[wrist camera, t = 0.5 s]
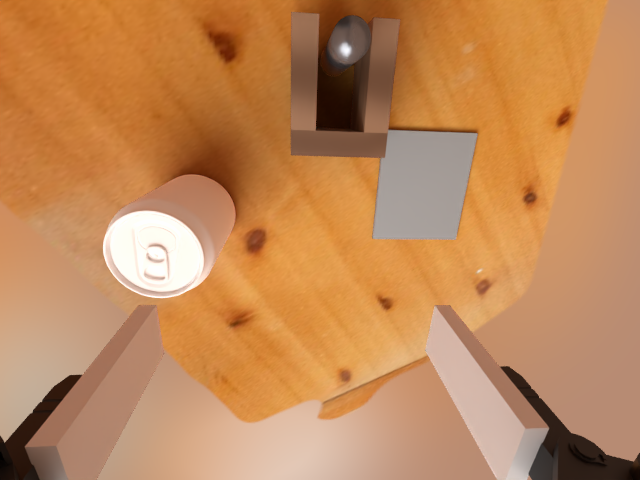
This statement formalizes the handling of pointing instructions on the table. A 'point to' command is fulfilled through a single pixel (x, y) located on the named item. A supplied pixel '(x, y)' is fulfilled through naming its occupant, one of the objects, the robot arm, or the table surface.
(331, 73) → the post
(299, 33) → the c link
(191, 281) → the beverage can
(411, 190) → the mat
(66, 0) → the table surface
